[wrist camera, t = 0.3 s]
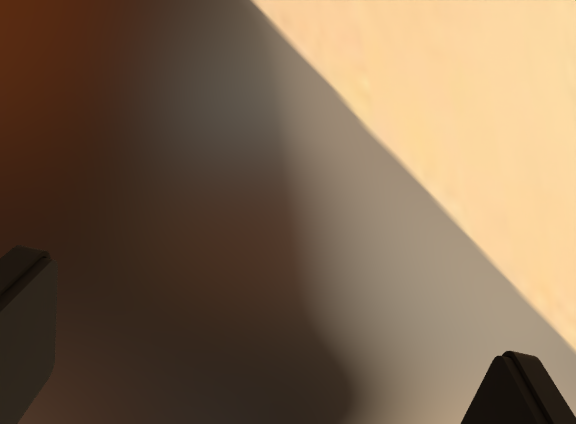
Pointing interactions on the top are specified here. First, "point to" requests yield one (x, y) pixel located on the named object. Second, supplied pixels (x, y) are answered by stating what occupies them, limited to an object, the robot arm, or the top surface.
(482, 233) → the top surface
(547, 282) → the top surface
